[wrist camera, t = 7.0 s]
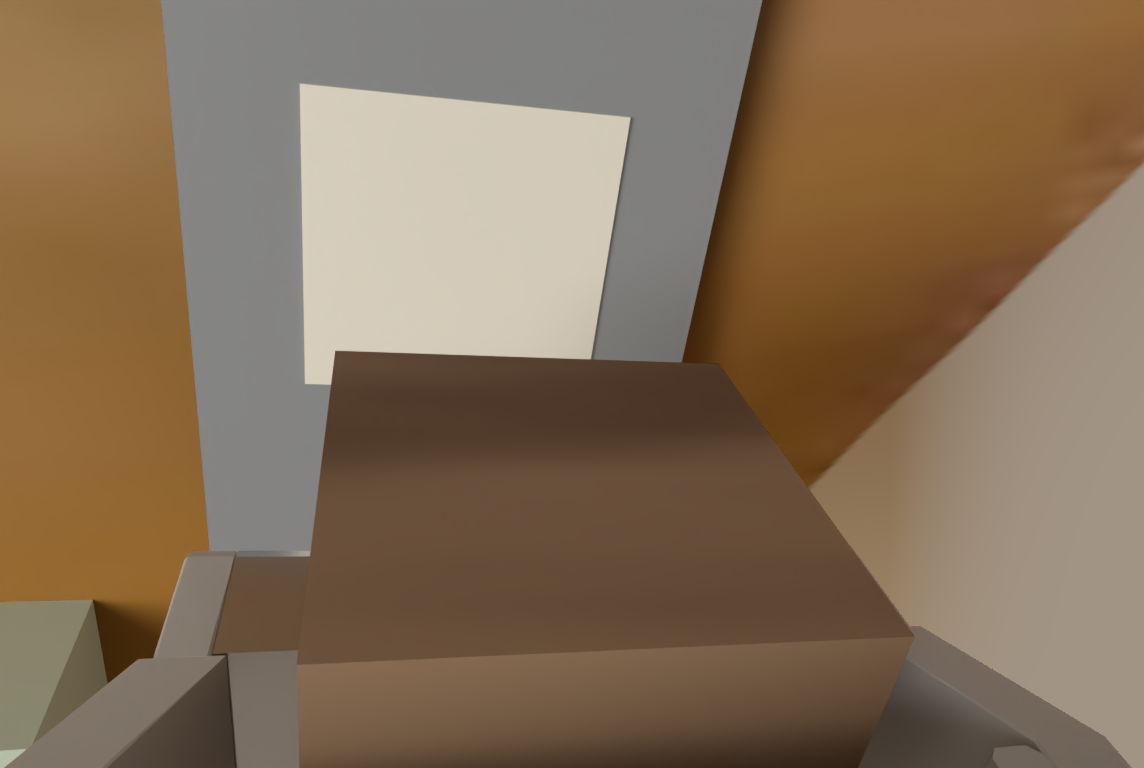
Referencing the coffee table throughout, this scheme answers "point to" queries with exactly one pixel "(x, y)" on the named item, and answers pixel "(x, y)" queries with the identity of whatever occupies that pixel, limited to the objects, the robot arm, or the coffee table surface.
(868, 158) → the coffee table surface
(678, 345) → the baseplate
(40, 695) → the sage green block
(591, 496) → the walnut block
